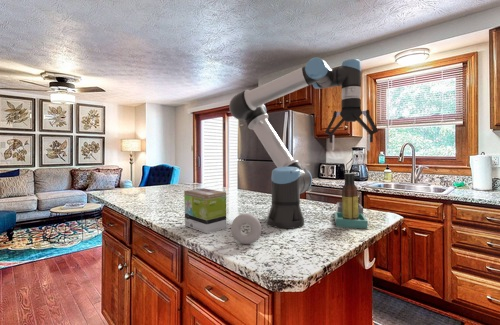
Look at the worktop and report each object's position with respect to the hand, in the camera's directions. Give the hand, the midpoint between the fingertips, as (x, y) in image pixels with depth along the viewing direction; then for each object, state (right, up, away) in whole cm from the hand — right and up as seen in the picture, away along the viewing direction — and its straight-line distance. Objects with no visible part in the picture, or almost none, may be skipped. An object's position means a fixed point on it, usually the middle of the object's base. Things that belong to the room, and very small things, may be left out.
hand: (350, 150), depth 109 cm
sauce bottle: (0, -29, +1) cm, 29 cm away
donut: (-43, -32, -23) cm, 58 cm away
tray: (0, -30, +1) cm, 30 cm away
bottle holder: (+5, -30, +14) cm, 33 cm away
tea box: (-59, -31, -4) cm, 67 cm away
